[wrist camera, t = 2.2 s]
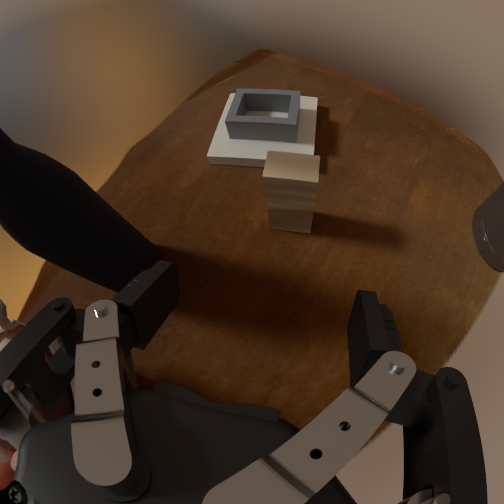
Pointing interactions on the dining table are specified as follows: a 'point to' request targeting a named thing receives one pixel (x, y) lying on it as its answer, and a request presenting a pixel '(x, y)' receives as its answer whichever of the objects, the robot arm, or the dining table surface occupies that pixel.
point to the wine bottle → (68, 220)
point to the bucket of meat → (5, 457)
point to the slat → (291, 189)
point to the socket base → (263, 126)
